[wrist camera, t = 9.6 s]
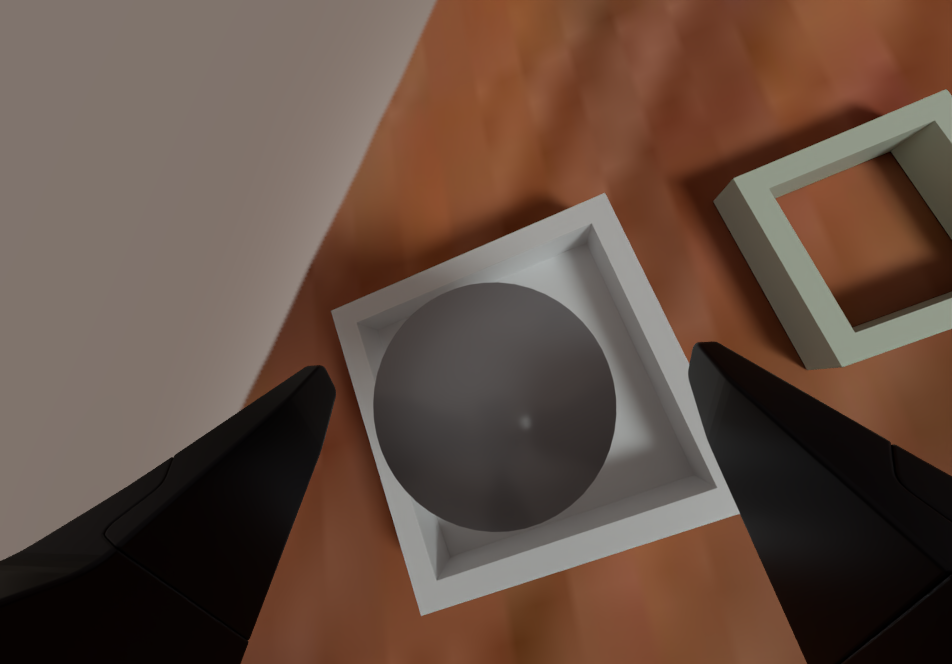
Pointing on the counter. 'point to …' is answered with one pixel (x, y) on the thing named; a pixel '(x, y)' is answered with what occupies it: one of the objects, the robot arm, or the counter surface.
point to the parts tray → (637, 411)
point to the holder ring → (787, 262)
